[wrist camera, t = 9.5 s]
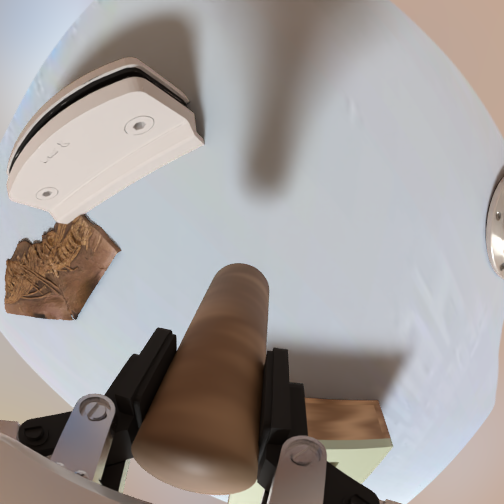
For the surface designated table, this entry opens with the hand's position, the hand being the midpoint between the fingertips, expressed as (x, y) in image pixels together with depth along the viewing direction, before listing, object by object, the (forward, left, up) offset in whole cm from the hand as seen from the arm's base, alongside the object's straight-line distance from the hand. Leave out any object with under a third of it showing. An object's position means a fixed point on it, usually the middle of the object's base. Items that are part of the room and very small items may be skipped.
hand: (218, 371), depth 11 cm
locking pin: (0, 0, -8) cm, 8 cm away
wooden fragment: (+24, +7, -15) cm, 29 cm away
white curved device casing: (+14, -8, -15) cm, 22 cm away
